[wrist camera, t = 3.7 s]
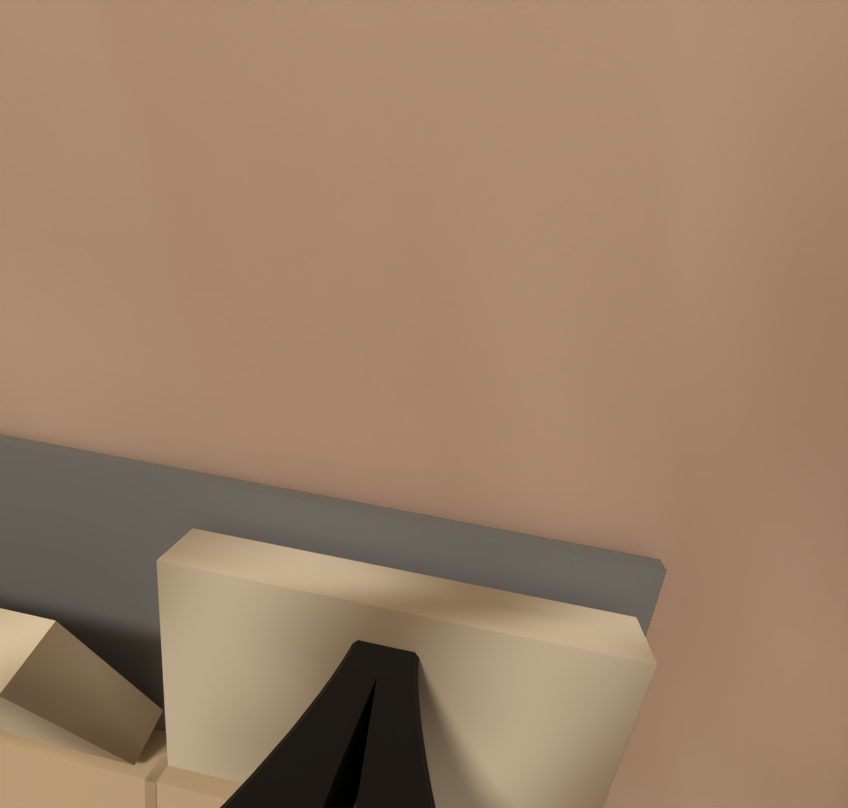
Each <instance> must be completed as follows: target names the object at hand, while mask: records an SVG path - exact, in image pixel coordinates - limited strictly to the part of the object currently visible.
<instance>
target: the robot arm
mask: <svg viewBox="0 0 848 808" xmlns="http://www.w3.org/2000/svg"><path fill="white" fill-rule="evenodd" d="M418 666H419V657H418V656H417V654H416V653H415V652H412V651H407V650H402V649H398V648H393V647H388V646H384V645H379V644H374V643H370V642H365V641H360V640H357V641H356V642H354V643H352V645H351V647H350V648H349V650H348V652H347V654H346V655H345V657H344V658H343V660H342V661H341V663H340V664H339V666H338V667H337V669H336V670H335V672H334V673H333V675H332V676H331V678H330V679H329V680H328V682H327V683H326V684H325V686H324V687H323V689H322V690H321V691H320V693H319V694H318V695H317V697H316V698H315V699H314V700H313V702H312V703H311V704H310V706H309V707H308V708H307V709H306V711H305V712H304V713H303V714H302V716H301V717H300V718H299V720H298V721H297V722H296V723H295V725H294V726H293V727H292V728H291V730H290V731H289V732H288V733H287V734H286V735H285V737H284V738H283V739H282V740H281V741H280V742H279V744H278V745H277V746H276V747H275V748H274V749H273V750H272V752H271V753H270V754H269V755H268V756H267V757H266V758H265V760H264V761H263V762H262V763H261V764H260V765H259V766H258V768H257V769H256V770H255V771H254V772H253V773H252V774H251V775H250V776H249V778H248V779H247V780H246V781H245V782H244V783H243V784H242V785H241V786H240V787H239V788H238V789H237V790H236V791H235V792H234V794H233V795H232V796H231V797H230V798H229V799H228V800H227V801H226V802H225V803H224V804H223V805H222V806H221V807H220V808H354V807H355V808H436V807H435V802H434V797H433V792H432V787H431V781H430V776H429V770H428V764H427V758H426V751H425V744H424V738H423V731H422V723H421V714H420V702H419V687H418ZM355 804H356V805H355Z"/></svg>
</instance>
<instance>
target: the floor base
mask: <svg viewBox="0 0 848 808" xmlns="http://www.w3.org/2000/svg"><path fill="white" fill-rule="evenodd" d="M192 528H194V529H199V530H204V531H209V532H214V533H219V534H224V535H229V536H234V537H239V538H244V539H249V540H254V541H259V542H264V543H269V544H274V545H279V546H284V547H289V548H294V549H299V550H304V551H309V552H314V553H319V554H324V555H329V556H334V557H339V558H343V559H348V560H353V561H358V562H363V563H368V564H373V565H378V566H383V567H388V568H393V569H398V570H403V571H408V572H413V573H418V574H423V575H428V576H433V577H438V578H443V579H448V580H453V581H458V582H463V583H468V584H473V585H478V586H483V587H488V588H493V589H498V590H503V591H508V592H513V593H518V594H523V595H528V596H533V597H538V598H543V599H548V600H553V601H558V602H563V603H568V604H573V605H578V606H583V607H588V608H593V609H598V610H603V611H608V612H613V613H618V614H622V615H627V616H632V617H637V620H638V622H639V624H640V627H641V629H642V631H643V633H644V636H646V633H647V630H648V627H649V624H650V621H651V618H652V615H653V612H654V608H655V605H656V602H657V599H658V596H659V593H660V590H661V587H662V584H663V580H664V577H665V574H666V571H667V570H666V569H665V567H664V566H663V564H662V563H661V561H660V560H659V559H653V558H648V557H643V556H638V555H632V554H627V553H622V552H616V551H611V550H606V549H601V548H595V547H590V546H585V545H580V544H574V543H569V542H564V541H558V540H553V539H548V538H543V537H537V536H532V535H527V534H522V533H516V532H511V531H506V530H500V529H495V528H490V527H485V526H479V525H474V524H469V523H464V522H458V521H453V520H448V519H442V518H437V517H432V516H427V515H421V514H416V513H411V512H406V511H400V510H395V509H390V508H384V507H379V506H374V505H369V504H363V503H358V502H353V501H348V500H342V499H337V498H332V497H326V496H321V495H316V494H311V493H305V492H300V491H295V490H290V489H284V488H279V487H274V486H269V485H263V484H258V483H253V482H247V481H242V480H237V479H232V478H226V477H221V476H216V475H211V474H205V473H200V472H195V471H189V470H184V469H179V468H174V467H168V466H163V465H158V464H153V463H147V462H142V461H137V460H131V459H126V458H121V457H116V456H110V455H105V454H100V453H95V452H89V451H84V450H79V449H73V448H68V447H63V446H58V445H52V444H47V443H42V442H37V441H31V440H26V439H21V438H15V437H10V436H5V435H0V608H2V609H6V610H11V611H15V612H19V613H24V614H28V615H33V616H37V617H42V618H46V619H51V620H55V621H57V622H58V623H59V624H60V625H62V626H63V627H64V628H65V629H66V630H68V631H69V632H70V633H71V634H72V635H74V636H75V637H76V638H77V639H78V640H80V641H81V642H82V643H83V644H84V645H86V646H87V647H88V648H89V649H90V650H92V651H93V652H94V653H95V654H96V655H98V656H99V657H100V658H101V659H102V660H103V661H105V662H106V663H107V664H108V665H109V666H111V667H112V668H113V669H114V670H115V671H117V672H118V673H119V674H120V675H121V676H123V677H124V678H125V679H126V680H127V681H129V682H130V683H131V684H132V685H133V686H135V687H136V688H137V689H138V690H139V691H141V692H142V693H143V694H144V695H145V696H147V697H148V698H149V699H150V700H151V701H153V702H154V703H155V704H156V705H157V706H159V707H160V708H161V709H162V710H163V712H162V714H161V715H160V717H159V719H158V721H157V723H156V725H155V727H154V729H153V731H152V733H151V735H150V737H149V739H148V741H147V743H146V744H145V746H144V748H143V750H142V752H141V754H140V756H139V758H138V760H137V762H136V764H135V765H131V764H127V763H123V762H119V761H115V760H111V759H107V758H103V757H99V756H95V755H91V754H87V753H83V752H79V751H75V750H71V749H67V748H63V747H59V746H55V745H51V744H47V743H43V742H39V741H35V740H31V739H27V738H23V737H19V736H15V735H11V734H7V733H3V732H0V808H220V807H221V806H222V805H223V804H224V803H225V802H226V801H227V800H228V799H229V798H230V797H231V796H232V795H233V794H234V792H235V791H236V790H237V789H238V788H239V787H240V786H241V785H242V784H241V783H237V782H233V781H229V780H225V779H221V778H217V777H213V776H209V775H205V774H201V773H197V772H193V771H189V770H185V769H181V768H177V767H173V766H169V765H168V758H167V740H166V722H165V704H164V686H163V668H162V651H161V633H160V615H159V597H158V579H157V561H156V560H158V559H159V558H160V557H161V556H162V555H163V554H164V553H165V552H167V551H168V550H169V549H170V548H171V547H172V546H173V545H174V544H176V543H177V542H178V541H179V540H180V539H181V538H182V537H183V536H185V535H186V534H187V533H188V532H189V531H190V530H191V529H192Z"/></svg>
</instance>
